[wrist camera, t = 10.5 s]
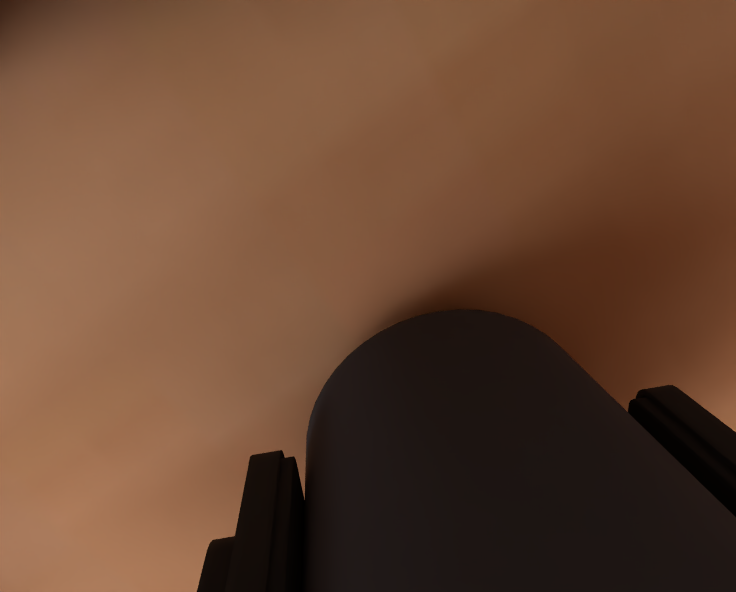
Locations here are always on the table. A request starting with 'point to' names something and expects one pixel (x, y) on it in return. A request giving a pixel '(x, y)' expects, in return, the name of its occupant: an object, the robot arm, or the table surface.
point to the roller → (495, 474)
